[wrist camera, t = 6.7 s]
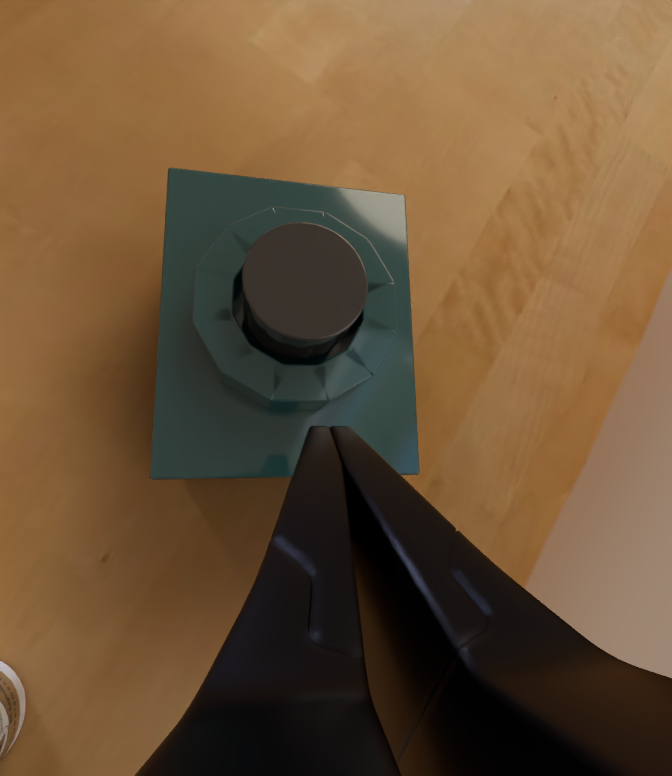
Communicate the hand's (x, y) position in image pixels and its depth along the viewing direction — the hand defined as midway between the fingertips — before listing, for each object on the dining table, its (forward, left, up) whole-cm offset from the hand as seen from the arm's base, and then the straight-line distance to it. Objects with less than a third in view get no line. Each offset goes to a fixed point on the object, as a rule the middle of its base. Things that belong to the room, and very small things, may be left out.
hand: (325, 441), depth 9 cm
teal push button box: (+4, -2, -13) cm, 14 cm away
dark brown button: (+4, -2, -5) cm, 7 cm away
